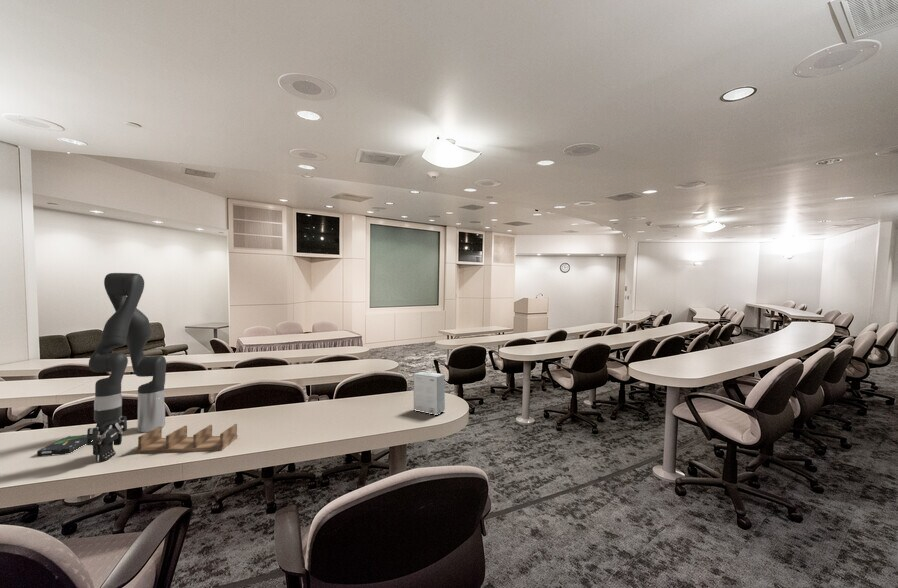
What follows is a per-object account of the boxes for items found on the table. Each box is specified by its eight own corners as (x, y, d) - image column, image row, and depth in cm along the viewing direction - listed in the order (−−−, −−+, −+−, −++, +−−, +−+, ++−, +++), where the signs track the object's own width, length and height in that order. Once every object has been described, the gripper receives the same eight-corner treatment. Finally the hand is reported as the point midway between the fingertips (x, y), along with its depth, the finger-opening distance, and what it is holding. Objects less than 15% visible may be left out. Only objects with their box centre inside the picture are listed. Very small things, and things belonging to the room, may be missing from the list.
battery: (107, 461, 128) (108, 430, 128) (94, 463, 127) (95, 431, 127) (119, 453, 135) (120, 423, 135) (107, 454, 134) (108, 424, 134)
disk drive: (71, 455, 135) (97, 439, 149) (71, 447, 135) (97, 433, 149) (36, 458, 132) (66, 442, 146) (36, 451, 132) (66, 435, 146)
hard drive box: (445, 412, 183) (445, 374, 183) (437, 416, 177) (437, 377, 177) (421, 407, 192) (421, 371, 192) (412, 411, 185) (413, 373, 185)
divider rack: (159, 440, 147) (159, 426, 147) (237, 438, 149) (237, 423, 150) (137, 453, 135) (137, 437, 135) (222, 450, 137) (222, 434, 138)
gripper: (113, 401, 138) (113, 442, 138) (79, 412, 124) (78, 458, 123) (134, 400, 138) (133, 441, 138) (102, 412, 124) (101, 457, 124)
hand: (107, 449), depth 131 cm, fingers open, 8 cm apart
